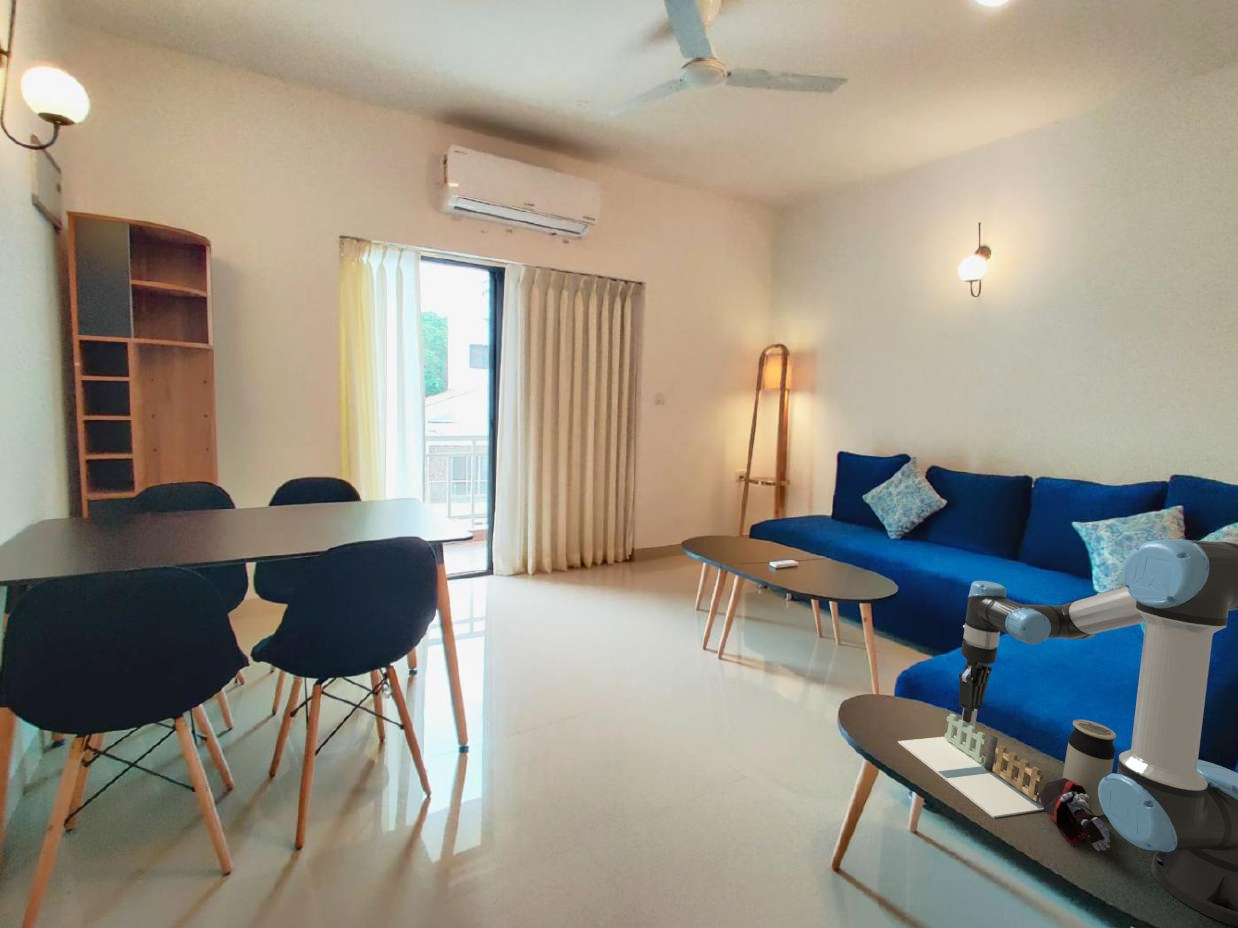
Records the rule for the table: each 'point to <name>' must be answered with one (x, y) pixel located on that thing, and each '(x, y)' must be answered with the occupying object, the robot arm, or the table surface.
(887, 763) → the table surface
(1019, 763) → the fence fixed
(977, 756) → the fence gate
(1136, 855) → the table surface
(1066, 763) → the travel mug
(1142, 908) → the table surface
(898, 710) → the table surface
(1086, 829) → the toy
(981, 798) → the card
